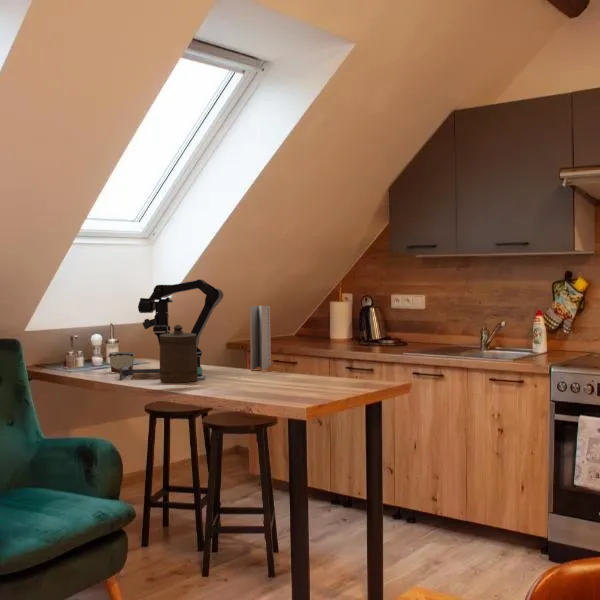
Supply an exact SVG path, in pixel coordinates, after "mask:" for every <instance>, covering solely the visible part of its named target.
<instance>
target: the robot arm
mask: <svg viewBox="0 0 600 600" xmlns="http://www.w3.org/2000/svg"><path fill="white" fill-rule="evenodd" d="M192 290H200V291H201V292H202V293H203V294H204V295H205V298H204V305H203V307H202V310H200V313H199V315H198V317H197V320H196V321H195V323H194V325H193V326H192V329H191V332H190V333H194V334H196V337H197V341H196V345H197V367H202V366H201V364H202V363H201V357H202V354H203V351H202V350H201V349H200V348H199V344H200V338H201V337H200V336H201V335H202V332H203V331H204V329H205V327H206V326H207V325H206V324H207V323H208V321H209V319H210V317H211V315H212V313H213V311H214V309H215V308H216V307H217V306H218V305H219V304H220V303H221V301H222V299H223V298H224V292H223V291H222V289H220V288H216V287H215V286H213V285H211V284H209V283H208V282H206V281H205V280H204V279H196V280H192V281H186V282H181V283H175V284H156V285H155V286H154V288H153V290H152V291H153V292H152V293H151V294H150V295H149V298H148V297H147V298H145V297H140V298H139V302H138V306H137V309H138V313H140V314H152V313H154V312H155V315H153V317H154V318H152V319H149V318H145V319H144V321H143V322H142V326H143V329H144V330H147V329H150V328H152V332H153V334H154V335H156V336H157V337H156V338H157V340H158V345H159V346H160V335H161V334H167V333H171V330H172V329H171V325H170V324H169V316H170V315H169V304H170V303H173V300H172V298H170V297H171V296H173V295H174V294H177V293H178V294H179V293H183V292H188V291H192Z"/></svg>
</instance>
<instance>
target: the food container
mask: <svg viewBox="0 0 600 600" xmlns="http://www.w3.org/2000/svg"><path fill="white" fill-rule="evenodd" d="M107 357H108V358H109V364H110V372H120V370H119V368H121V367H123V366H125V365H128V369H134V361H135V360H134V359H135V357H136V354H135V352H134V351H112V352H111V351H110V352H109V353H108V356H107Z"/></svg>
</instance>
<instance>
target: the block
mask: <svg viewBox="0 0 600 600" xmlns="http://www.w3.org/2000/svg"><path fill="white" fill-rule="evenodd" d="M197 374H198V376H203V368H202V366H201V367H197Z"/></svg>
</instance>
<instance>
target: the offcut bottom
mask: <svg viewBox="0 0 600 600" xmlns="http://www.w3.org/2000/svg"><path fill="white" fill-rule="evenodd" d="M130 380H131V381H137V380H141V381H142V380H143V381H144V380H147V381H148V380H160V377H133V376H131V377H130Z"/></svg>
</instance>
